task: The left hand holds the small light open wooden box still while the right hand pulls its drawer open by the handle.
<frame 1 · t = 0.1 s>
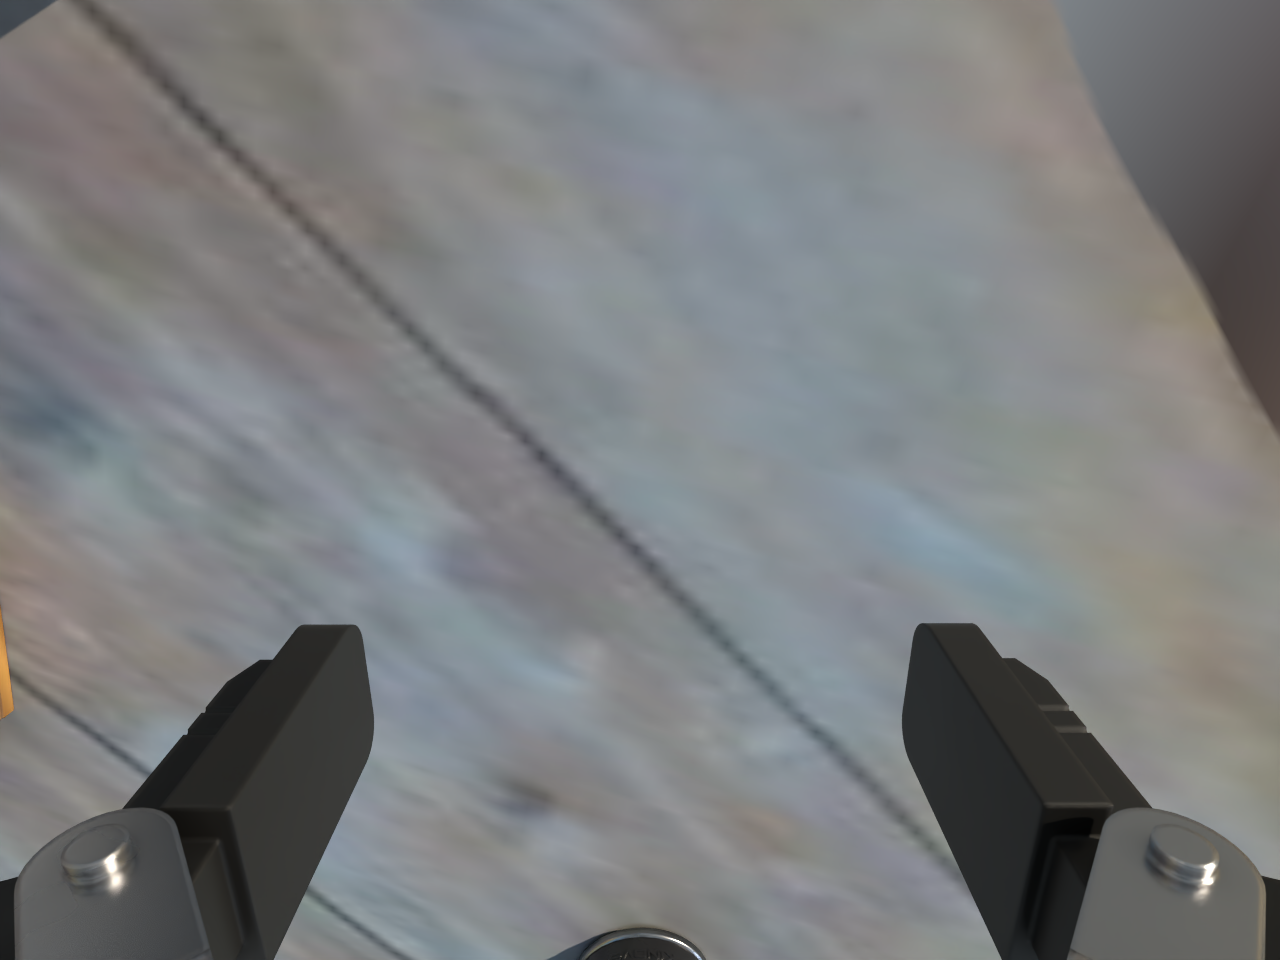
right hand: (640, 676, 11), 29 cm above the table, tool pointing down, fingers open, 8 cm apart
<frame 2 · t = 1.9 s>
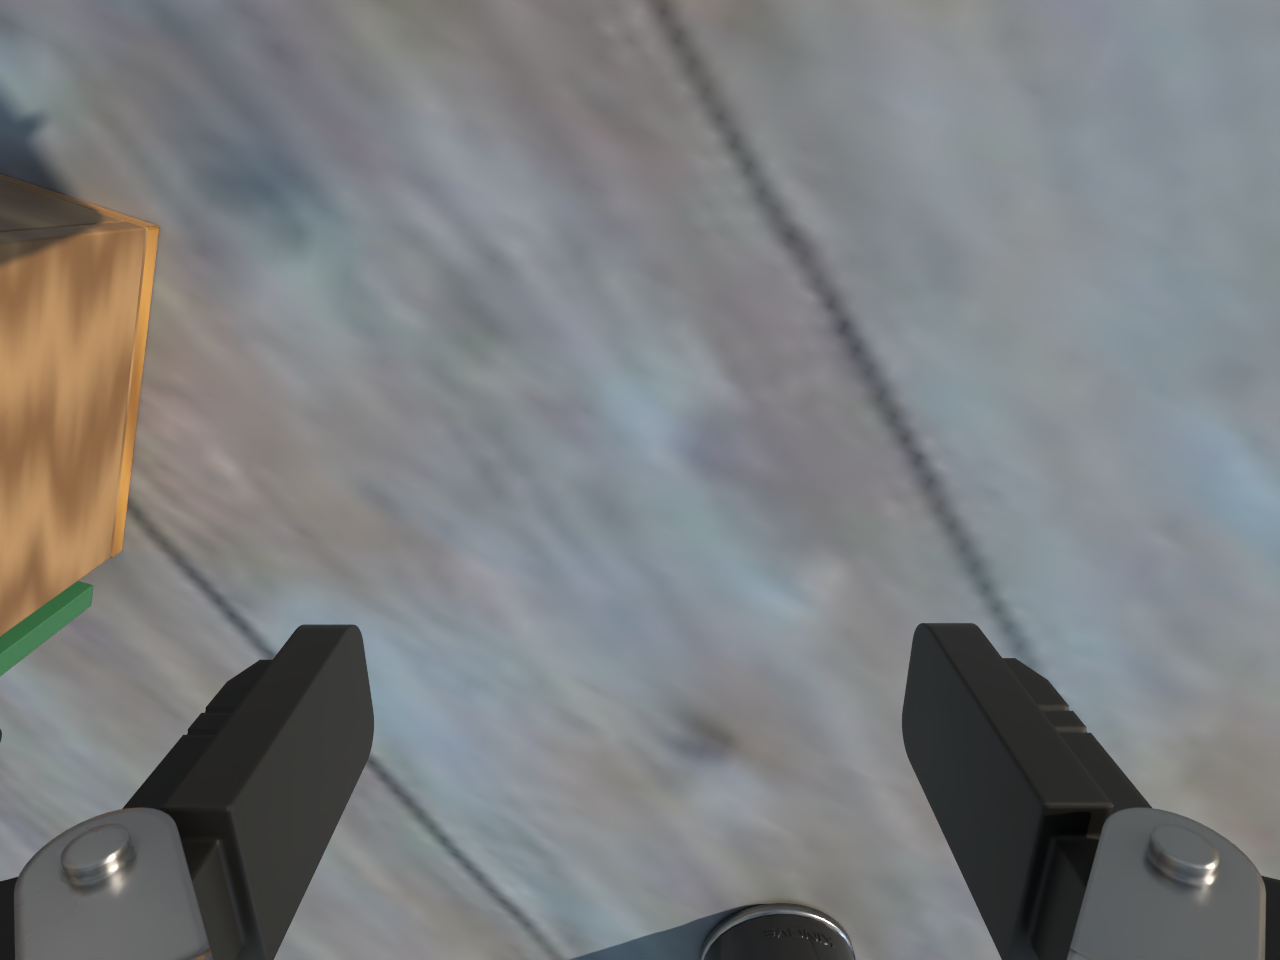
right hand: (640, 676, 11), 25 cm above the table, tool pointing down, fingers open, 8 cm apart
open wooden box: (17, 363, 35), on the table
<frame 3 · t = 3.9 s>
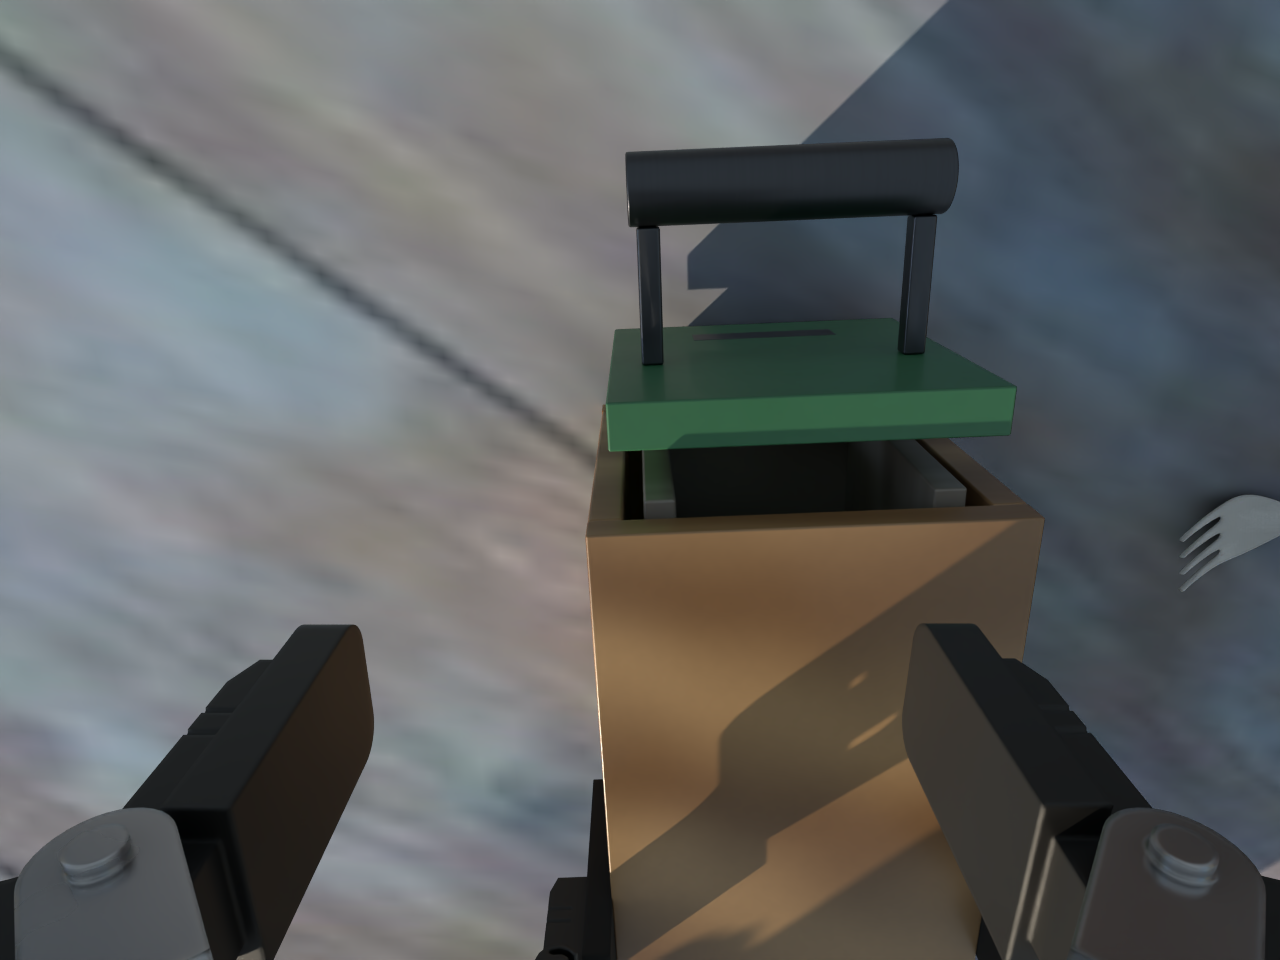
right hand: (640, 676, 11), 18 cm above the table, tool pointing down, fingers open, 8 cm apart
open wooden box: (746, 591, 31), on the table, touching left hand
drawer: (773, 503, 24), point 6 cm above the table, slide at 1.7 cm
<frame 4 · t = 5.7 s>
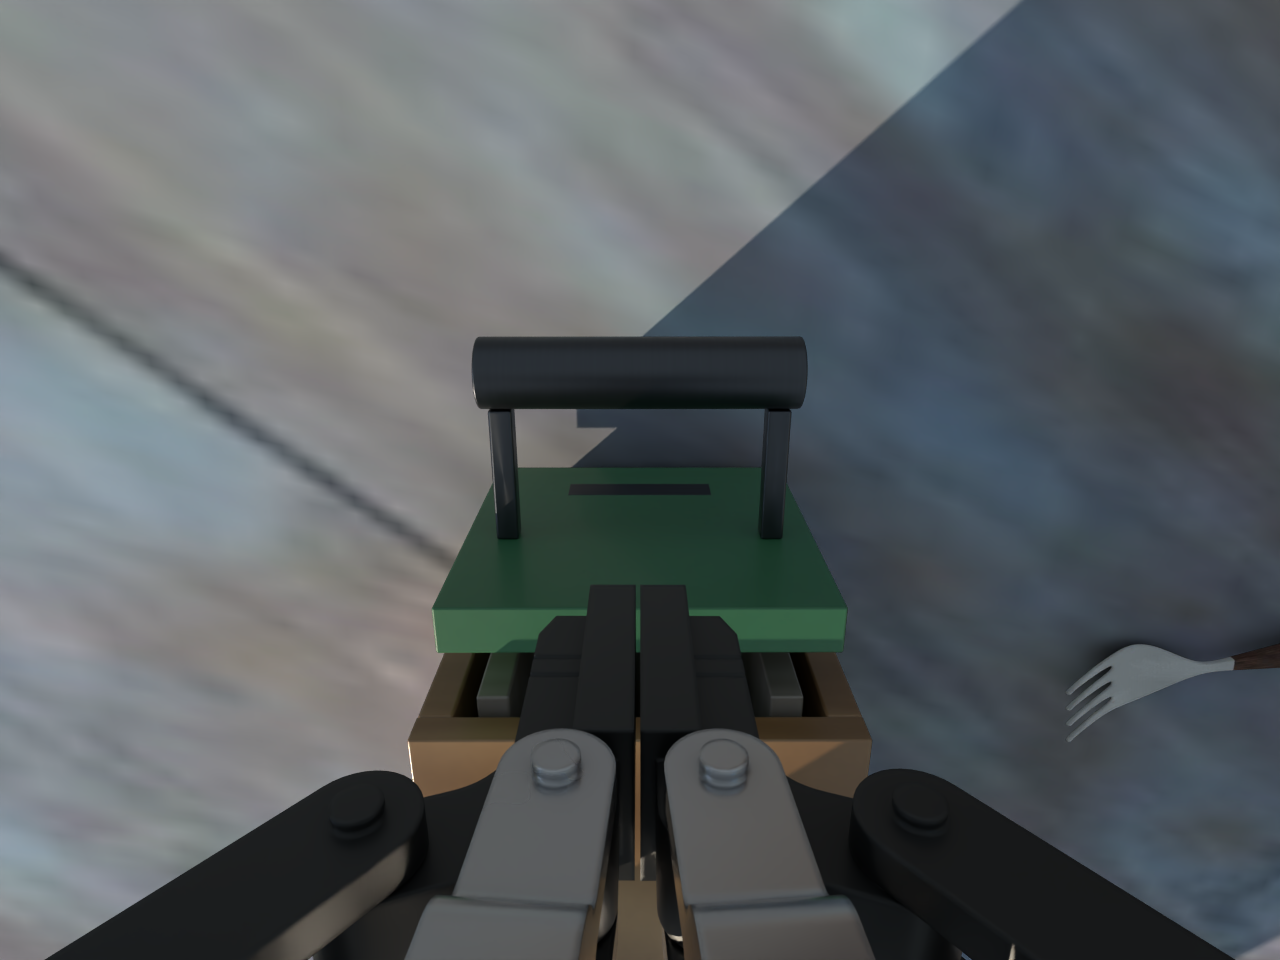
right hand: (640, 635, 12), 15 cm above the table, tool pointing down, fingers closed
fork: (1249, 648, 30), on the table
open wooden box: (639, 716, 31), on the table, touching left hand
drawer: (639, 665, 24), point 6 cm above the table, slide at 1.7 cm
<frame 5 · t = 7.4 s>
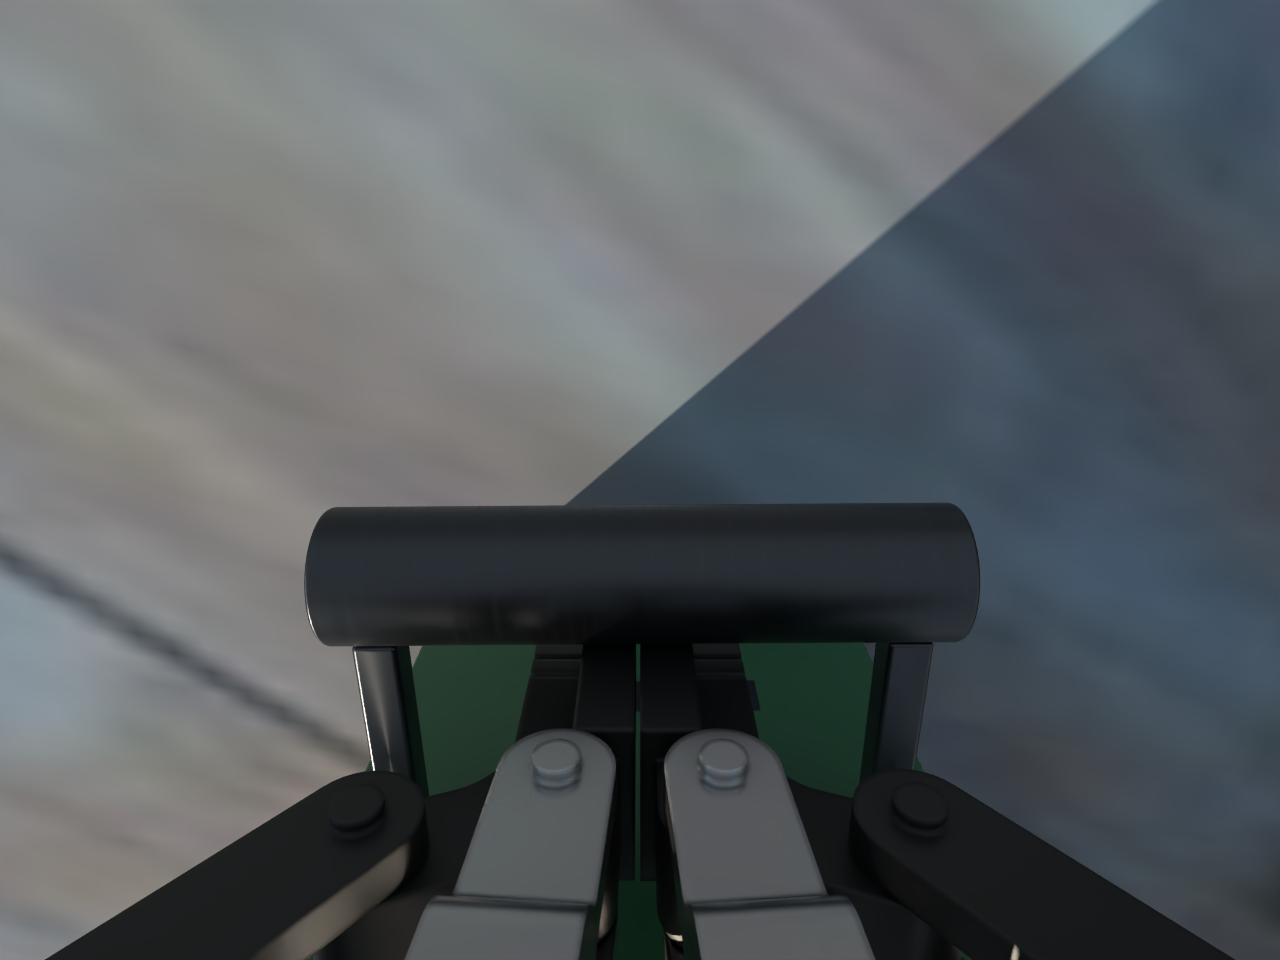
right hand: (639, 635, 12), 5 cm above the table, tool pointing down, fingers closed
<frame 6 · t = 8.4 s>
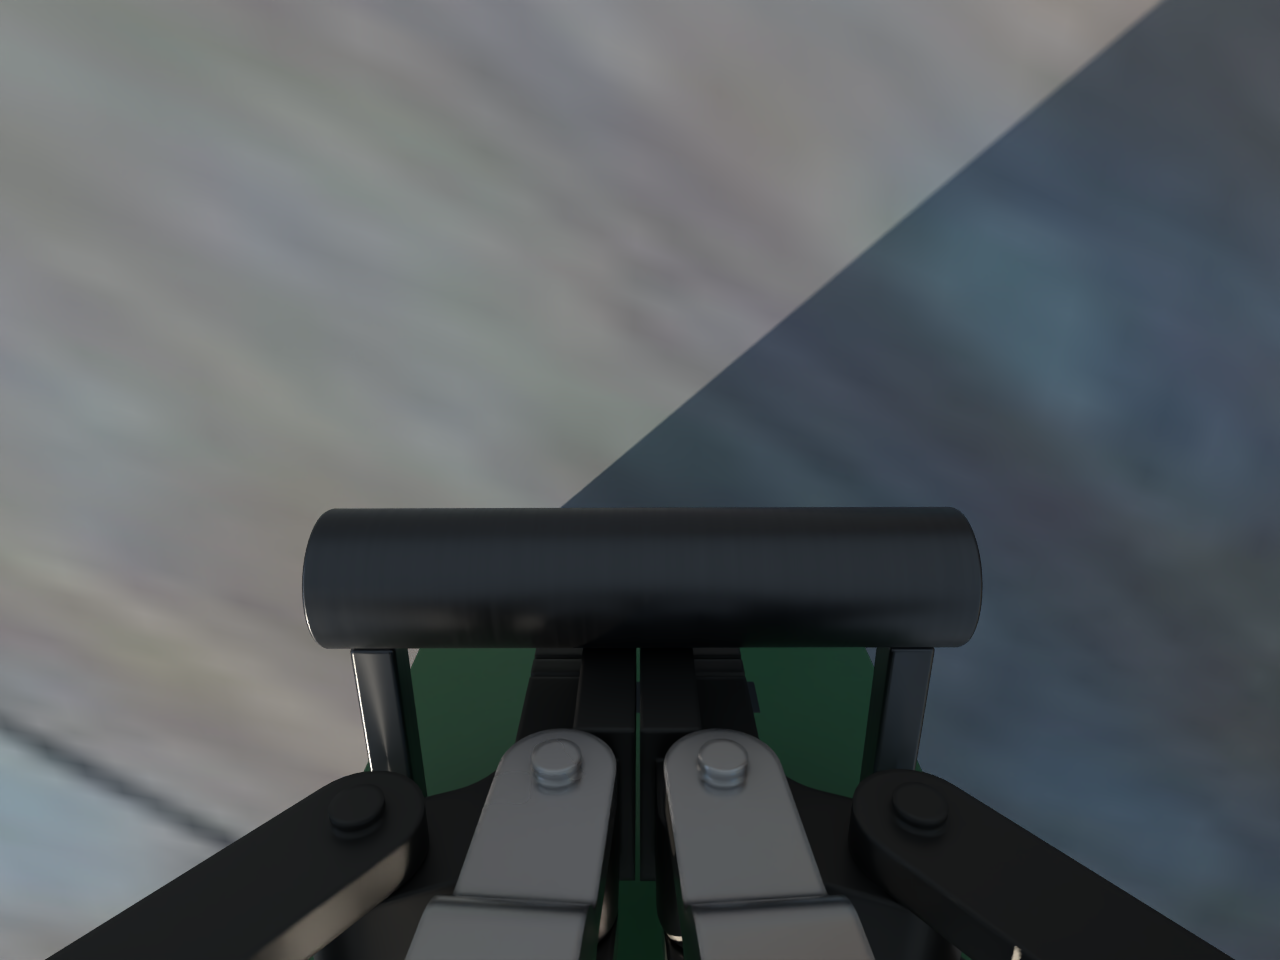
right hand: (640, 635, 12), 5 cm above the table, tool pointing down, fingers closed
when the left hand's fingers open (7 cm above the table, at t = 10.1 s): open wooden box stays where it is, on the table.
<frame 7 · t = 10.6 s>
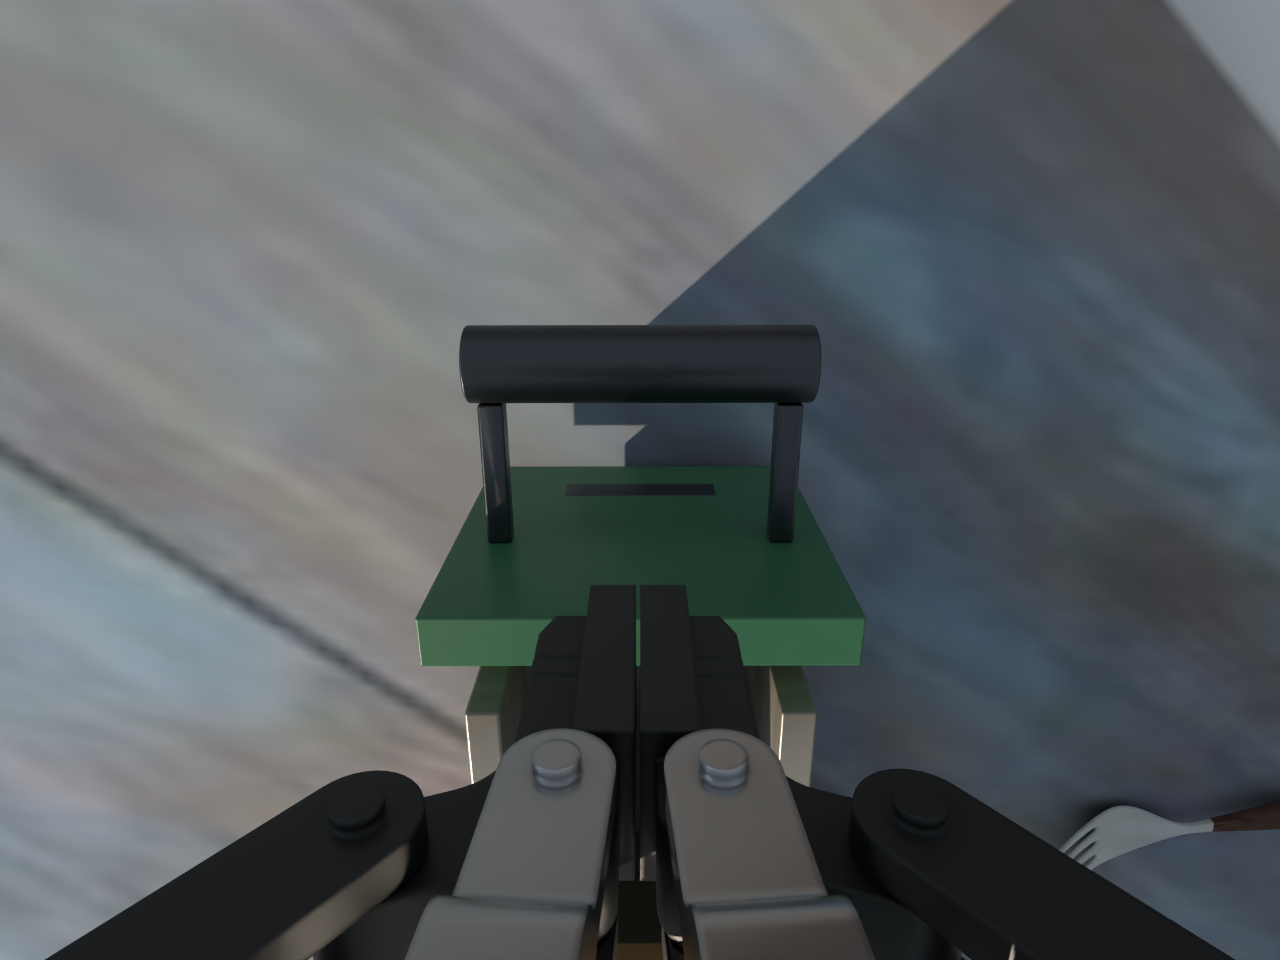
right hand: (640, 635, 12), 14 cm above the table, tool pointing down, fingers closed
fork: (1228, 807, 31), on the table
open wooden box: (640, 853, 32), on the table
drawer: (640, 675, 22), point 6 cm above the table, slide at 8.0 cm
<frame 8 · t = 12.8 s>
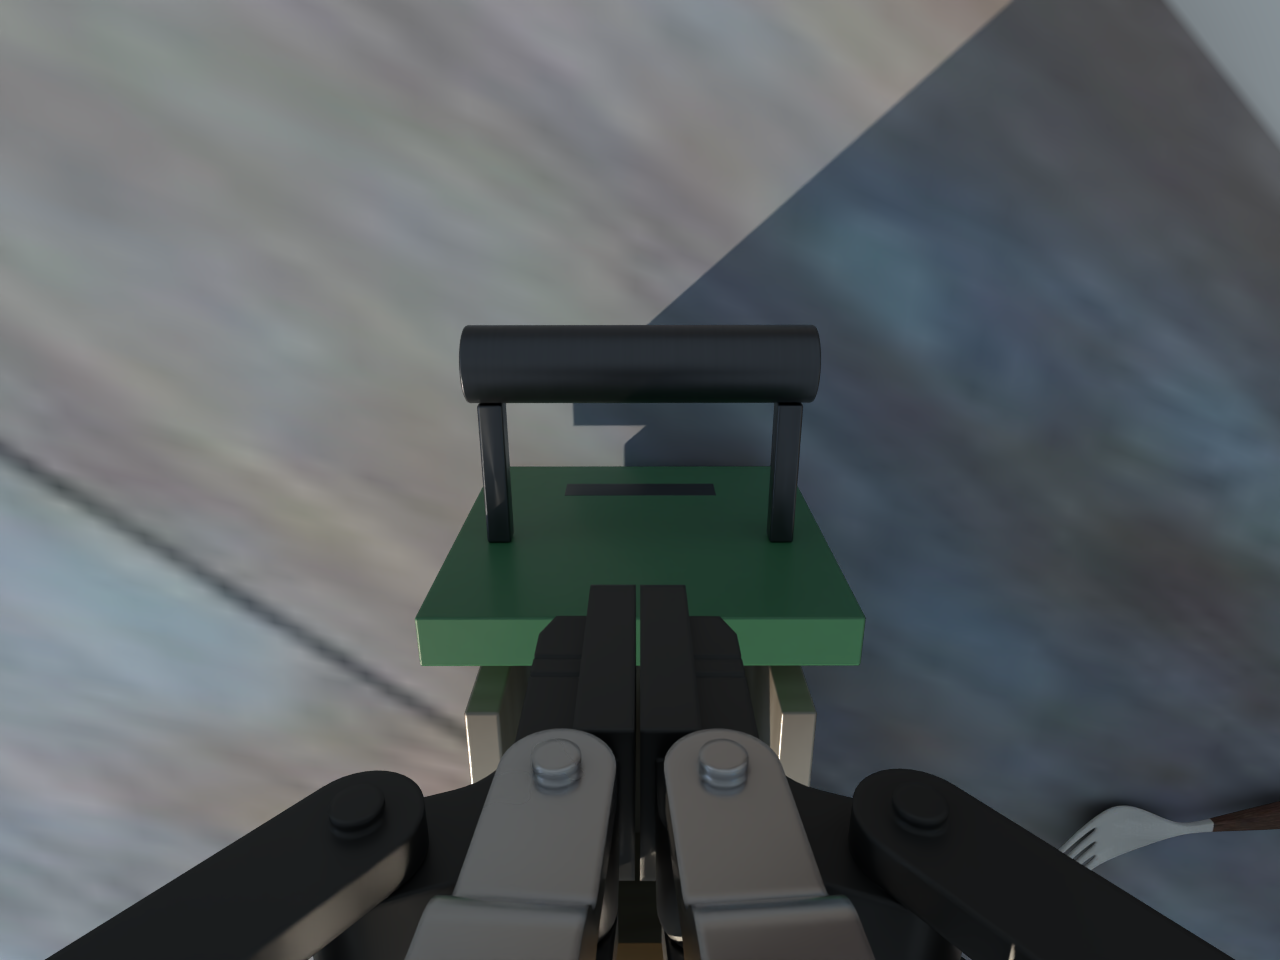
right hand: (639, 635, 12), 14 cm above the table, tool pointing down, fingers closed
fork: (1228, 807, 31), on the table
open wooden box: (640, 853, 32), on the table
drawer: (640, 675, 22), point 6 cm above the table, slide at 8.0 cm
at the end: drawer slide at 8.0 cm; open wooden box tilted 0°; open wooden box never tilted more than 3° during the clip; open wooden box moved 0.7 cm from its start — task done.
